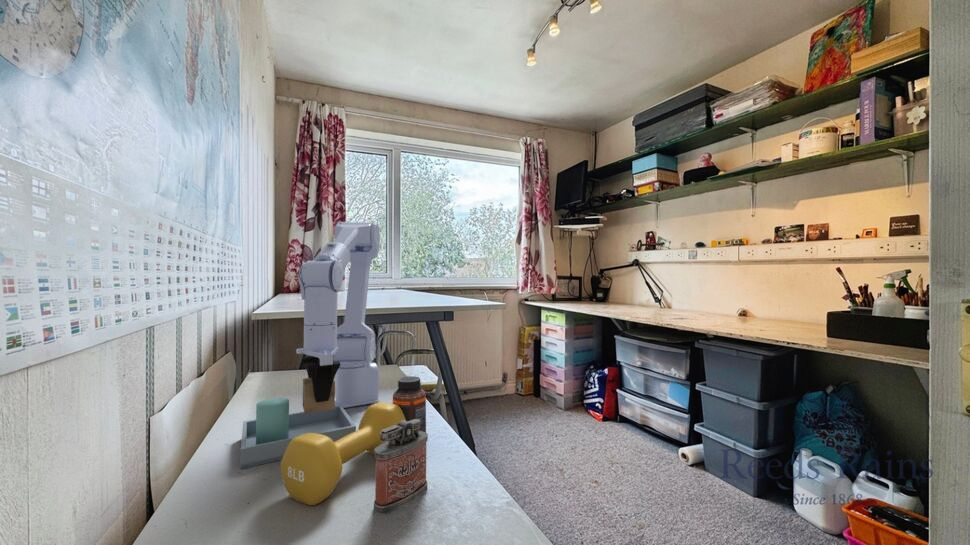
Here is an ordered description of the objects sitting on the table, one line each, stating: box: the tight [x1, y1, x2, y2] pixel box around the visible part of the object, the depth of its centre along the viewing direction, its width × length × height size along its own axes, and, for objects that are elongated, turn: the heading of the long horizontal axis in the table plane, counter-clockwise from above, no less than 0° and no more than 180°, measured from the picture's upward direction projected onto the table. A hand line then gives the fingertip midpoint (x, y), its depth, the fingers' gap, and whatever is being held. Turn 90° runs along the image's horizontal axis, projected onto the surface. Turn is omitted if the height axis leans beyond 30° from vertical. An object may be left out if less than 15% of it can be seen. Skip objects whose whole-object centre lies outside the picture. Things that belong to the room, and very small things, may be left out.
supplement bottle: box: [392, 375, 427, 433], centre depth 67 cm, size 6×6×11 cm
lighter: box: [373, 419, 429, 515], centre depth 49 cm, size 8×3×10 cm, turn 141°
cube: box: [302, 377, 336, 413], centre depth 69 cm, size 5×5×5 cm
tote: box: [240, 405, 357, 470], centre depth 67 cm, size 17×13×3 cm
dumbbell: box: [280, 401, 406, 506], centre depth 56 cm, size 19×9×8 cm, turn 154°
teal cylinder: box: [255, 397, 290, 445], centre depth 65 cm, size 5×5×7 cm
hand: (319, 396), depth 69 cm, fingers closed on cube, 5 cm apart
